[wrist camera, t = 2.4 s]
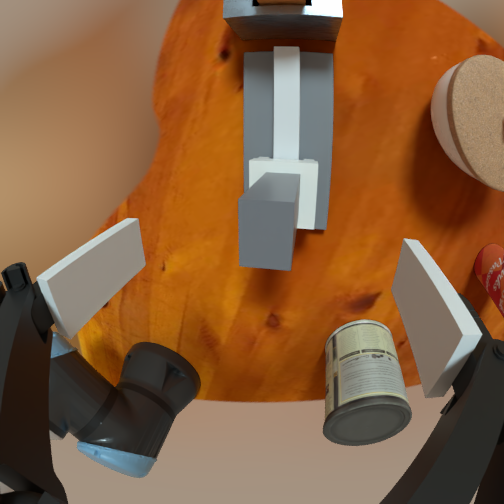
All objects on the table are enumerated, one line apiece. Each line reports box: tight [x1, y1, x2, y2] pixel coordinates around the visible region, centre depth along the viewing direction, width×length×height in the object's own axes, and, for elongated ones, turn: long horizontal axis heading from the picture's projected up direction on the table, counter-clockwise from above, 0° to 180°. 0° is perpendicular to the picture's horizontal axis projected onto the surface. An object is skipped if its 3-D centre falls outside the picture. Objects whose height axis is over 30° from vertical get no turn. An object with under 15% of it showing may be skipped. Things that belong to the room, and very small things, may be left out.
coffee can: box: [323, 320, 412, 446], centre depth 30 cm, size 10×10×14 cm
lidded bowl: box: [431, 55, 504, 192], centre depth 17 cm, size 13×13×11 cm
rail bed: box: [244, 46, 333, 230], centre depth 26 cm, size 9×19×3 cm, turn 0°
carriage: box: [238, 157, 318, 271], centre depth 21 cm, size 6×6×14 cm
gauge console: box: [223, 0, 343, 41], centre depth 18 cm, size 11×7×7 cm, turn 90°
